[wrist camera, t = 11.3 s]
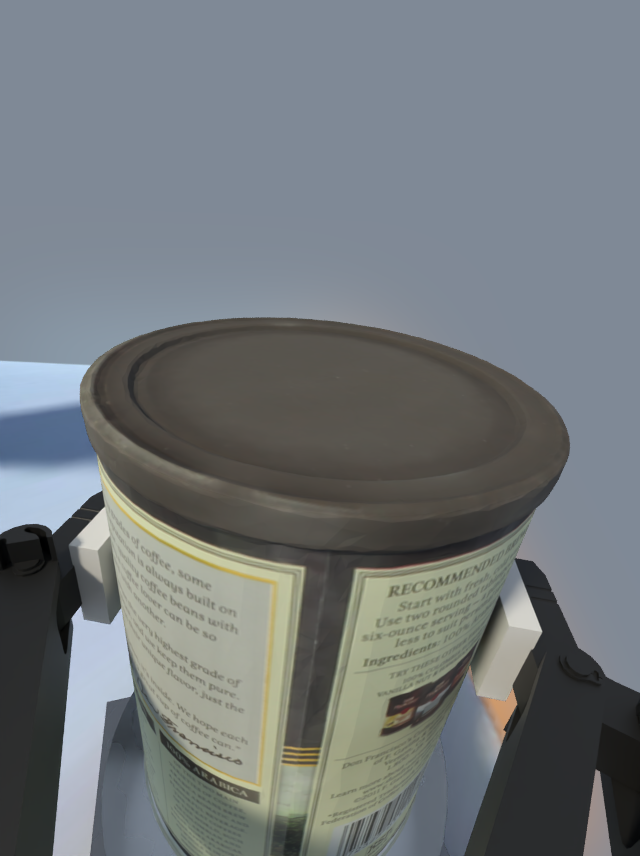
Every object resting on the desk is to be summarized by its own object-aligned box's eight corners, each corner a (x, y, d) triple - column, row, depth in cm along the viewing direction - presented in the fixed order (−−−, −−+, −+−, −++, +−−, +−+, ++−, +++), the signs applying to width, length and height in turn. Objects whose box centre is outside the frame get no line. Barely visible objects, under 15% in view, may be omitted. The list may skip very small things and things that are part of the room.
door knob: (109, 716, 26) (88, 607, 21) (356, 658, 31) (379, 560, 26) (51, 1291, 12) (-39, 1315, 8) (503, 1020, 17) (599, 942, 13)
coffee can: (261, 572, 23) (278, 300, 16) (452, 683, 18) (581, 374, 12) (72, 759, 14) (-44, 362, 8) (338, 1036, 10) (548, 663, 4)
